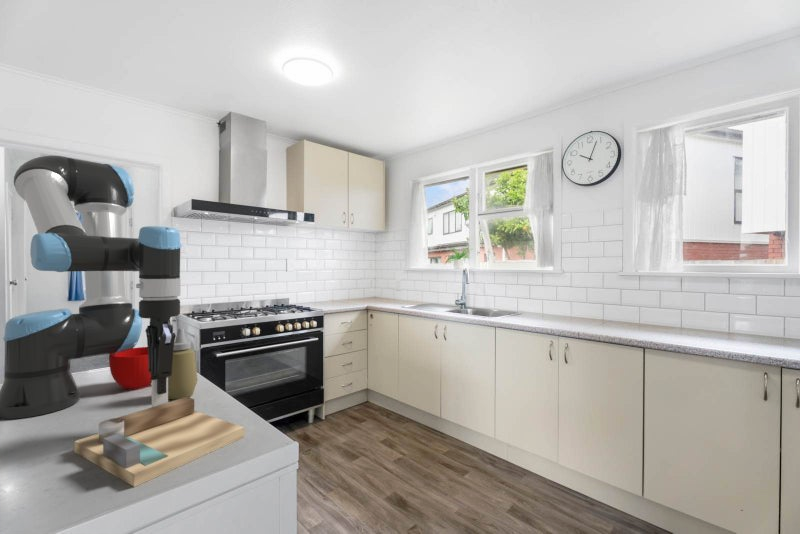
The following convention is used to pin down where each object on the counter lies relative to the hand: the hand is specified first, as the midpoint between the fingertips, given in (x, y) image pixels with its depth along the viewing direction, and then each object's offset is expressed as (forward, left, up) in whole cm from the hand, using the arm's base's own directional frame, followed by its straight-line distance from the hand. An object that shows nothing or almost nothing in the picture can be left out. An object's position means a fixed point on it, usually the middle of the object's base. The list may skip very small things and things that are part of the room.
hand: (159, 407), depth 81 cm
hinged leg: (+3, -3, -2) cm, 5 cm away
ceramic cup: (-33, +13, -4) cm, 36 cm away
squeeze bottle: (-15, +13, -4) cm, 21 cm away
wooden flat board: (+9, -4, -4) cm, 10 cm away
